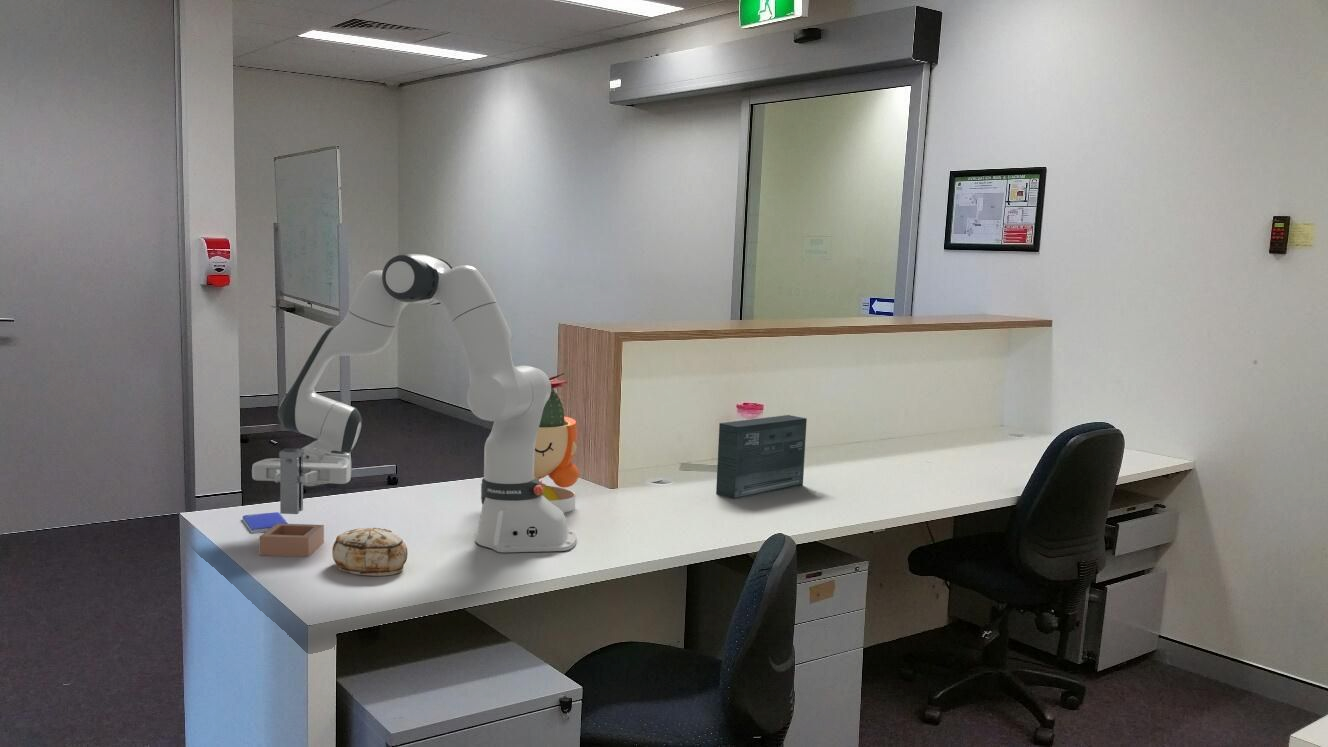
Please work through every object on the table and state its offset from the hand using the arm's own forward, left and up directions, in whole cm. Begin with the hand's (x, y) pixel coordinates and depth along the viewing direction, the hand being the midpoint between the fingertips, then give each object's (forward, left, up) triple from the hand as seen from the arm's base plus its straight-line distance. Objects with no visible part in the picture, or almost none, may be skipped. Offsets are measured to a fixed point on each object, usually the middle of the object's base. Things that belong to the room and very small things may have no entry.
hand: (290, 479), depth 208 cm
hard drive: (+12, -19, -16) cm, 28 cm away
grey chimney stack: (0, -1, -7) cm, 7 cm away
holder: (0, -1, -15) cm, 15 cm away
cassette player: (-108, -71, -16) cm, 130 cm away
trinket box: (-19, +10, -16) cm, 27 cm away
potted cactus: (-47, -47, -15) cm, 68 cm away
